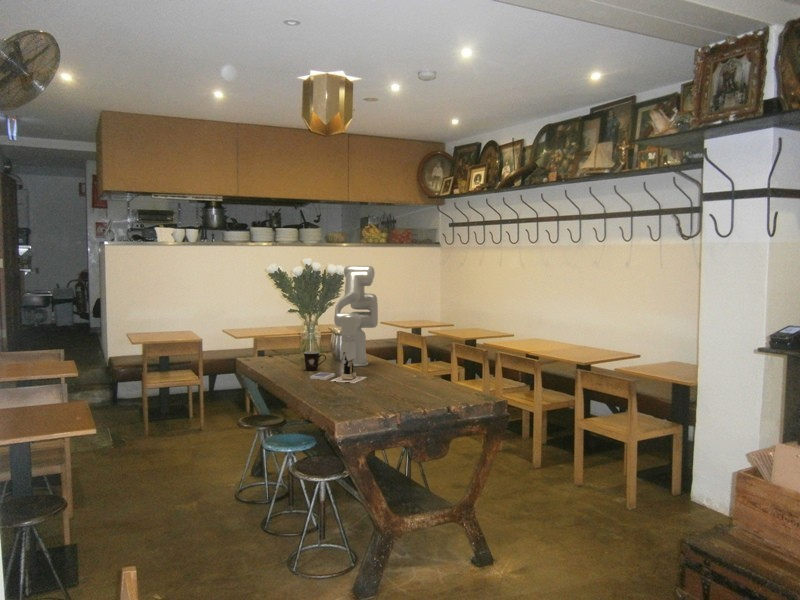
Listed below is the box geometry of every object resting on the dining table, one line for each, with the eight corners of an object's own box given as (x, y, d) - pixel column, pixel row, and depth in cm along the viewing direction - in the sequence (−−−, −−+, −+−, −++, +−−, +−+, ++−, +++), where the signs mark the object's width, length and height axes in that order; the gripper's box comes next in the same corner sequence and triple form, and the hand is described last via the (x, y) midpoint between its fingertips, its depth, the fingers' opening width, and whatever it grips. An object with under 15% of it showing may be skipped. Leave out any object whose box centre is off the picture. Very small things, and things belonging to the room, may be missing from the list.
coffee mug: (301, 370, 348) (301, 353, 347) (308, 368, 356) (308, 350, 355) (320, 372, 344) (319, 354, 344) (326, 369, 352) (326, 352, 352)
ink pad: (320, 374, 337) (320, 372, 337) (335, 376, 334) (335, 373, 334) (310, 378, 327) (310, 375, 327) (325, 380, 324) (325, 377, 324)
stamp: (346, 377, 329) (346, 355, 328) (356, 378, 328) (355, 356, 327) (341, 379, 323) (341, 357, 323) (350, 380, 322) (350, 357, 321)
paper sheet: (343, 375, 335) (343, 375, 335) (366, 377, 330) (366, 376, 330) (330, 381, 321) (330, 380, 321) (354, 383, 316) (354, 382, 316)
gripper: (348, 336, 333) (349, 369, 334) (335, 340, 317) (335, 375, 319) (361, 336, 330) (361, 370, 332) (348, 340, 315) (348, 376, 316)
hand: (348, 372), depth 325 cm, fingers closed on stamp, 3 cm apart
